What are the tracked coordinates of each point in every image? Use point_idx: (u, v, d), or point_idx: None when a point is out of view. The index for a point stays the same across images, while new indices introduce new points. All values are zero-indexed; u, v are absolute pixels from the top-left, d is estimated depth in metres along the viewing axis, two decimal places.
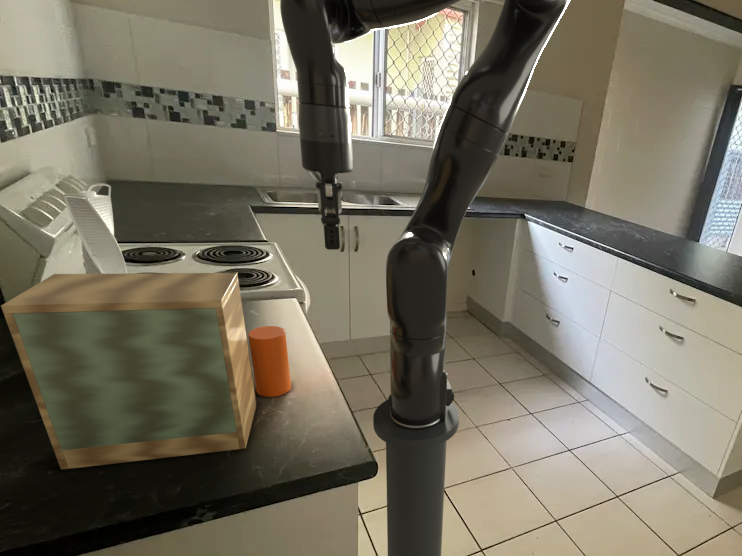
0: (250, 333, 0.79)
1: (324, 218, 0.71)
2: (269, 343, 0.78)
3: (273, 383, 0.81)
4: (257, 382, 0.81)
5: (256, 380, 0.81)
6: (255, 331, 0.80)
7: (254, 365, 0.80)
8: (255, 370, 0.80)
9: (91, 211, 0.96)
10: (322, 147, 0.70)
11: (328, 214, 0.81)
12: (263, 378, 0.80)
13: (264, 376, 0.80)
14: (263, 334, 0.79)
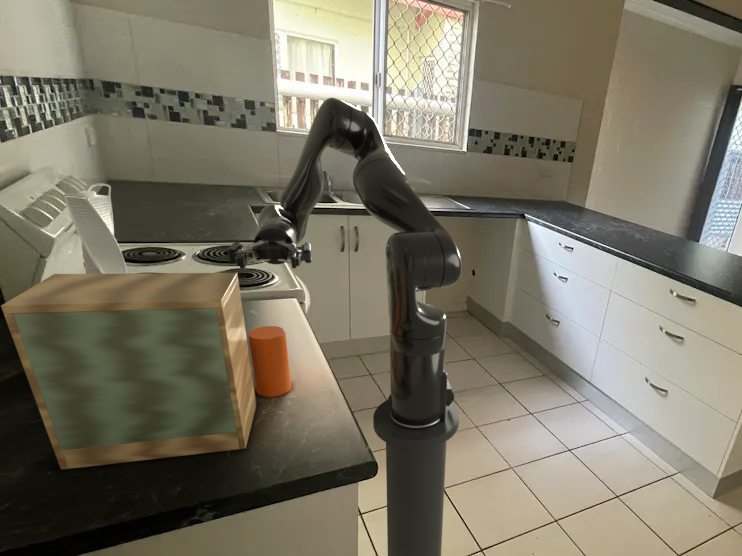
0: (250, 333, 0.79)
1: None
2: (269, 343, 0.78)
3: (273, 383, 0.81)
4: (257, 382, 0.81)
5: (256, 380, 0.81)
6: (255, 331, 0.80)
7: (254, 365, 0.80)
8: (255, 370, 0.80)
9: (91, 211, 0.96)
10: None
11: None
12: (263, 378, 0.80)
13: (264, 376, 0.80)
14: (263, 334, 0.79)
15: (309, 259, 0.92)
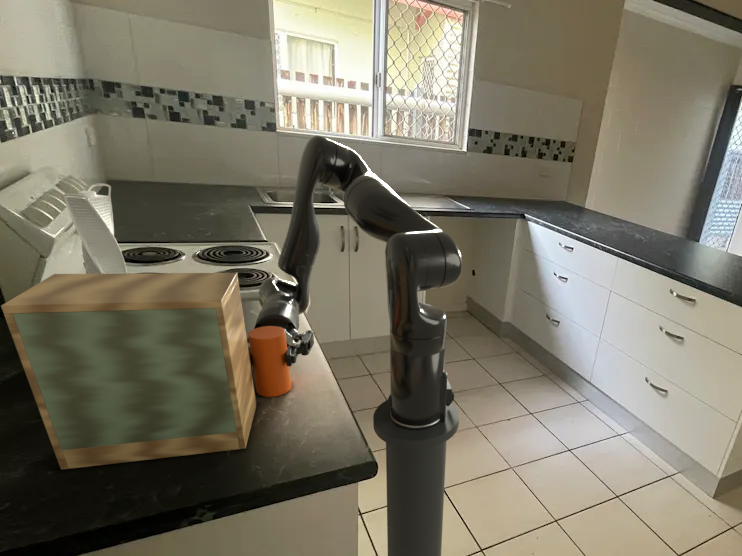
0: (250, 333, 0.79)
1: None
2: (269, 343, 0.78)
3: (273, 383, 0.81)
4: (257, 382, 0.81)
5: (256, 380, 0.81)
6: (255, 331, 0.80)
7: (254, 365, 0.80)
8: (255, 370, 0.80)
9: (91, 211, 0.96)
10: None
11: None
12: (263, 378, 0.80)
13: (264, 376, 0.80)
14: (263, 334, 0.79)
15: (305, 352, 0.85)
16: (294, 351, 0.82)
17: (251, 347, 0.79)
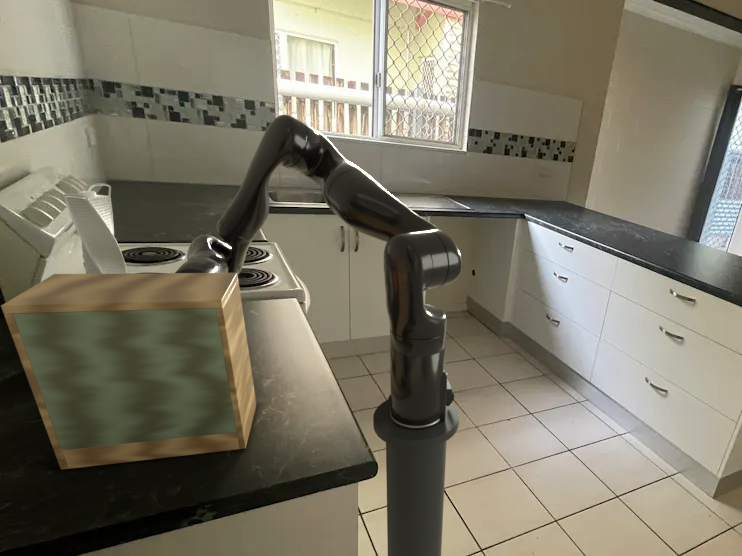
0: None
1: None
2: None
3: None
4: None
5: None
6: None
7: None
8: None
9: (91, 211, 0.96)
10: None
11: None
12: None
13: None
14: None
15: None
16: None
17: None
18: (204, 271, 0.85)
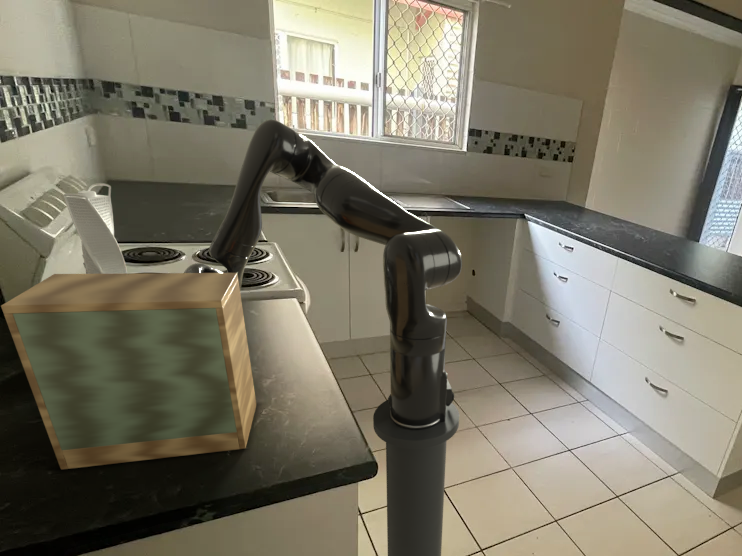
0: None
1: None
2: None
3: None
4: None
5: None
6: None
7: None
8: None
9: (91, 211, 0.96)
10: None
11: None
12: None
13: None
14: None
15: None
16: None
17: None
18: None
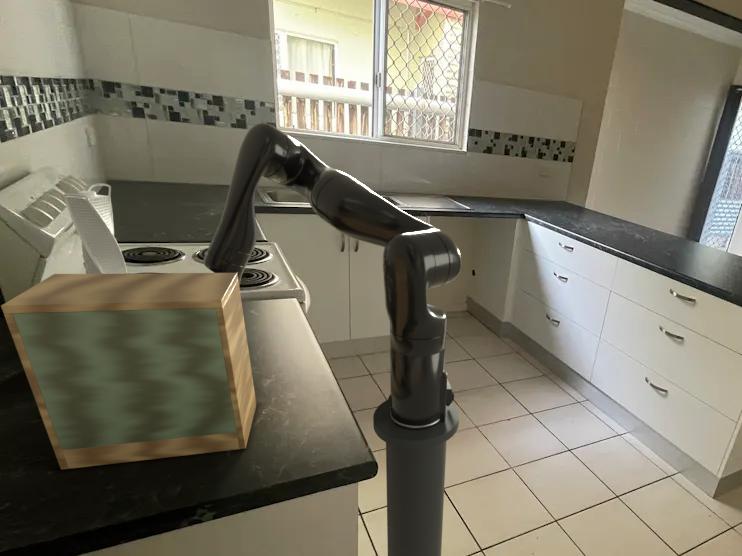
0: None
1: None
2: None
3: None
4: None
5: None
6: None
7: None
8: None
9: (91, 211, 0.96)
10: None
11: None
12: None
13: None
14: None
15: None
16: None
17: None
18: None
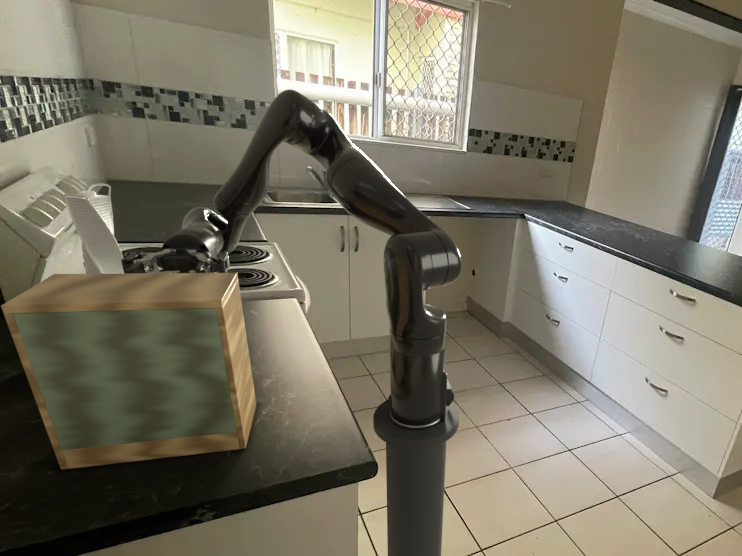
0: None
1: None
2: None
3: None
4: None
5: None
6: None
7: None
8: None
9: (91, 211, 0.96)
10: None
11: None
12: None
13: None
14: None
15: (223, 270, 0.79)
16: (207, 267, 0.76)
17: None
18: (198, 238, 0.82)
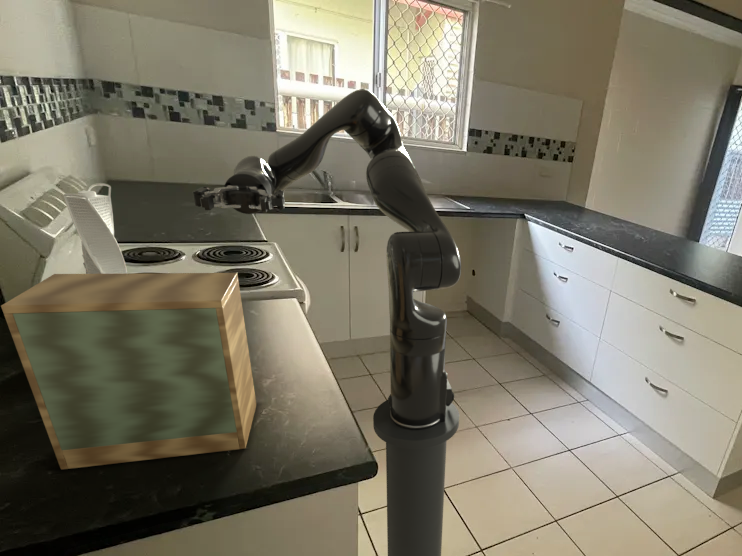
0: None
1: None
2: None
3: None
4: None
5: None
6: None
7: None
8: None
9: (91, 211, 0.96)
10: None
11: None
12: None
13: None
14: None
15: (281, 205, 0.87)
16: (269, 199, 0.84)
17: None
18: (256, 177, 0.90)
